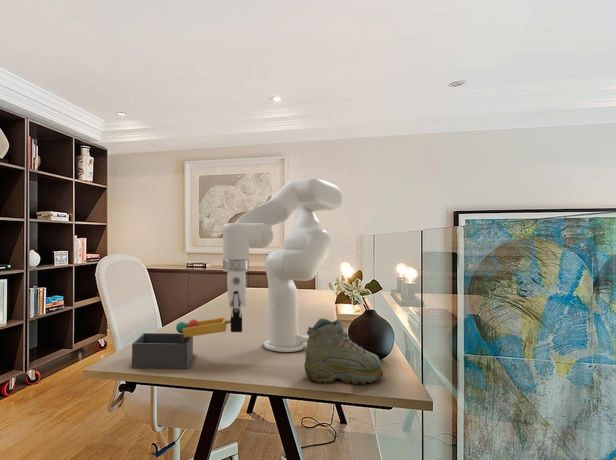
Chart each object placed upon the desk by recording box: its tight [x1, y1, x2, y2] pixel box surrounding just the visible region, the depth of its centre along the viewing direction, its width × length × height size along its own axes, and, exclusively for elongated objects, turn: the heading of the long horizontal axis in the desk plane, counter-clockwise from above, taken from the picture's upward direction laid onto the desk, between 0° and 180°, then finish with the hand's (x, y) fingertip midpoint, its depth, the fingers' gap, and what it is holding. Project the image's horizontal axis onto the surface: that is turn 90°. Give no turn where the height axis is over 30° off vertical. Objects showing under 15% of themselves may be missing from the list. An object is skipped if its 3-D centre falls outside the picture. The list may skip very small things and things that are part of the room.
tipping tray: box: [182, 316, 231, 337], centre depth 110 cm, size 16×8×3 cm, turn 88°
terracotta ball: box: [188, 319, 199, 328], centre depth 110 cm, size 3×3×3 cm
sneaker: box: [304, 318, 384, 385], centre depth 97 cm, size 11×19×15 cm, turn 78°
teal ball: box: [175, 321, 187, 334], centre depth 111 cm, size 3×3×3 cm
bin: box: [131, 332, 194, 369], centre depth 111 cm, size 15×12×9 cm
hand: (236, 328), depth 110 cm, fingers closed on tipping tray, 4 cm apart
